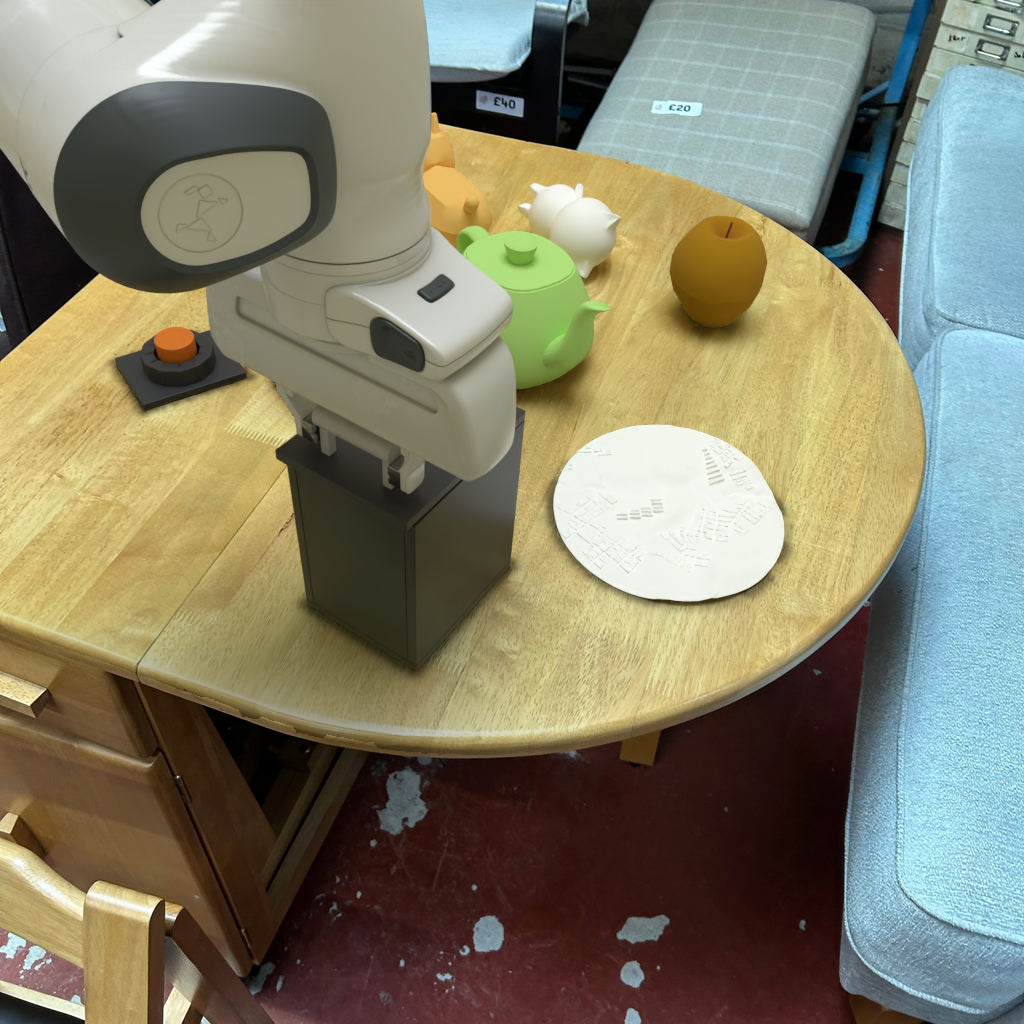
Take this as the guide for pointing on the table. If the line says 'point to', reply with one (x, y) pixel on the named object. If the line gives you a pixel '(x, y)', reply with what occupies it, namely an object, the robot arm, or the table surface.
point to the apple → (718, 270)
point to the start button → (175, 345)
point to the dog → (451, 190)
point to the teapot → (536, 301)
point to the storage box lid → (365, 468)
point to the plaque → (668, 514)
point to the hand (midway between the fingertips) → (360, 459)
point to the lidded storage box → (406, 558)
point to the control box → (177, 372)
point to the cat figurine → (573, 223)
